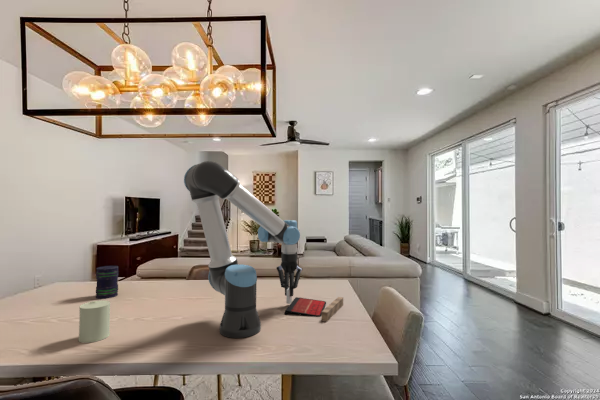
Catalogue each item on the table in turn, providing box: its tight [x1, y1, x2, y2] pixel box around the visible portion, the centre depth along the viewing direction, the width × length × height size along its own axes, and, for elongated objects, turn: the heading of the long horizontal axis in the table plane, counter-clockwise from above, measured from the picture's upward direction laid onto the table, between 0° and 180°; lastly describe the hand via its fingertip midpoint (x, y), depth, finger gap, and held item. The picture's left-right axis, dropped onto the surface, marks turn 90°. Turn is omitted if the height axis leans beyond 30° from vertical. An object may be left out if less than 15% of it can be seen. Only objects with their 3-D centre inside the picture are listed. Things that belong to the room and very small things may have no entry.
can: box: [78, 300, 111, 344], centre depth 106 cm, size 9×9×12 cm
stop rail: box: [321, 296, 344, 322], centre depth 133 cm, size 23×2×4 cm, turn 155°
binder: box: [284, 296, 327, 318], centre depth 138 cm, size 16×2×21 cm
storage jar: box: [95, 265, 120, 300], centre depth 156 cm, size 10×10×15 cm
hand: (289, 302), depth 142 cm, fingers closed
